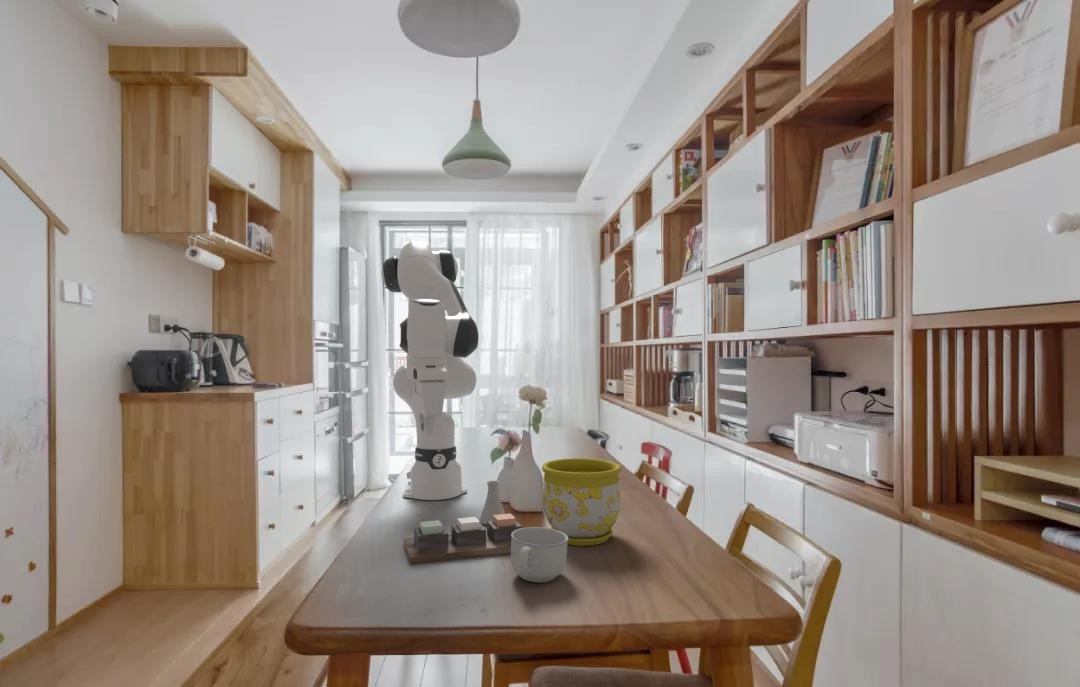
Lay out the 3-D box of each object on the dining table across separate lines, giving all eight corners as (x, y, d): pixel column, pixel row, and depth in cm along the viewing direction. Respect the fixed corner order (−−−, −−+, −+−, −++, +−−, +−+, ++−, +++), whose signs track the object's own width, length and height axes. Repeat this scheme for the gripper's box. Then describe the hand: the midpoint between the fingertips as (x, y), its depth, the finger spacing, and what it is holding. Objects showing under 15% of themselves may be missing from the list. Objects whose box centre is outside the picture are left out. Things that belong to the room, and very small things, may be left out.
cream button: (457, 527, 127) (457, 518, 127) (475, 525, 129) (475, 516, 129) (461, 533, 124) (461, 523, 124) (479, 531, 125) (479, 521, 125)
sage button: (420, 531, 125) (420, 522, 125) (439, 529, 126) (439, 520, 126) (422, 537, 121) (423, 527, 121) (442, 535, 122) (442, 525, 122)
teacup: (530, 562, 118) (530, 522, 118) (578, 573, 112) (578, 531, 112) (489, 586, 106) (489, 541, 106) (541, 599, 100) (541, 552, 100)
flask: (503, 527, 141) (503, 485, 141) (474, 525, 143) (474, 484, 143) (510, 518, 148) (510, 479, 148) (483, 517, 150) (483, 478, 150)
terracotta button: (493, 524, 130) (493, 515, 130) (510, 522, 131) (510, 513, 131) (497, 529, 126) (497, 520, 126) (515, 527, 128) (515, 518, 128)
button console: (403, 545, 127) (403, 525, 127) (517, 533, 136) (517, 514, 136) (410, 564, 116) (410, 542, 116) (534, 550, 125) (534, 529, 125)
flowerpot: (527, 542, 130) (527, 468, 130) (562, 521, 146) (562, 455, 146) (603, 555, 122) (603, 476, 122) (631, 532, 138) (631, 462, 138)
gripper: (406, 369, 139) (406, 427, 139) (418, 372, 120) (418, 440, 120) (433, 369, 141) (433, 426, 141) (449, 372, 122) (448, 438, 122)
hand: (426, 433), depth 130 cm, fingers open, 5 cm apart
